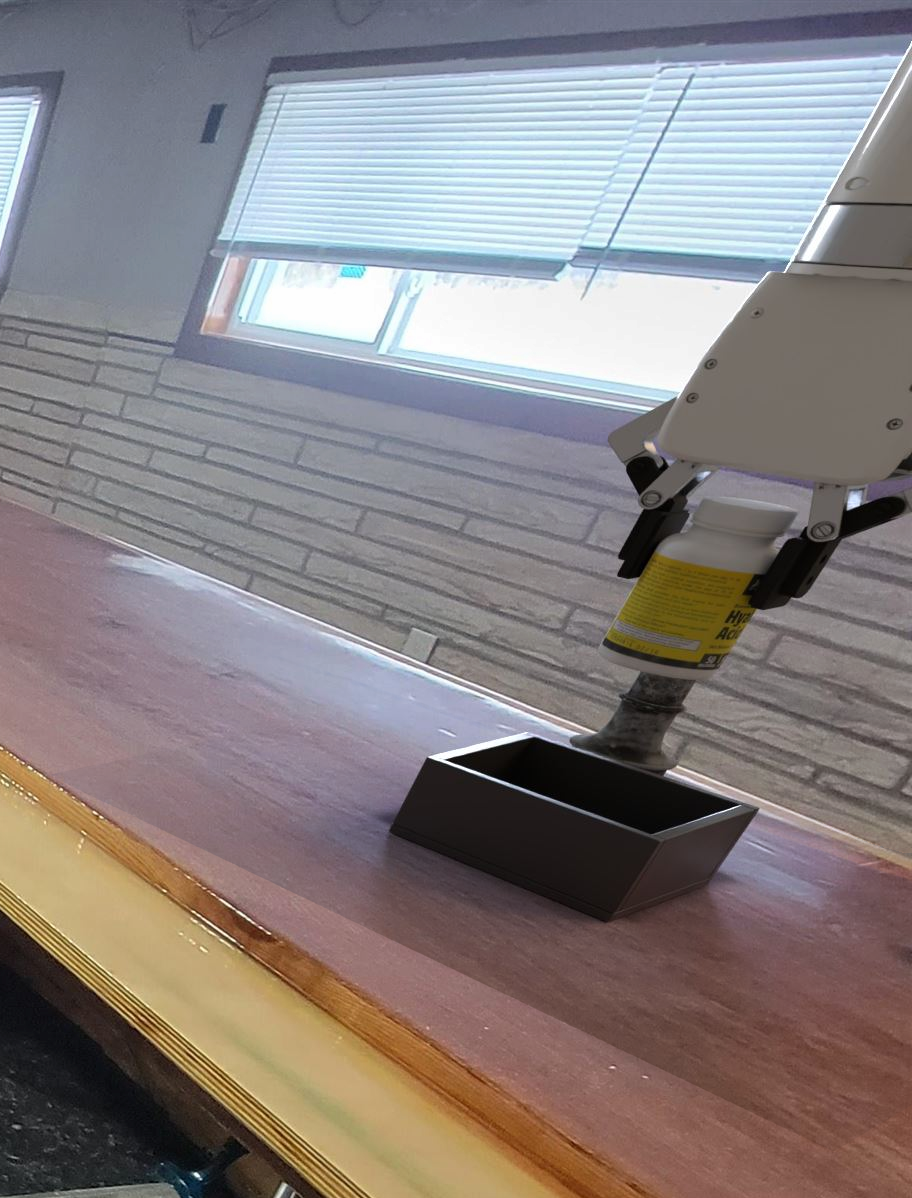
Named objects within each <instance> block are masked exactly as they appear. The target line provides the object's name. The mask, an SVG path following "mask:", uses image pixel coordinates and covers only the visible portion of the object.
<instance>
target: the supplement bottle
mask: <svg viewBox="0 0 912 1198" xmlns="http://www.w3.org/2000/svg"><path fill="white" fill-rule="evenodd" d="M798 515H799V510H798V509H796V508H793V507H790V506H786V505H782V504H778V503H773V502H768V501H762V500H755V499H749V498H739V497H733V496H732V497H730V496H719V495H716V496H715V495H713V496H709V495H708V496H704V497H703V498H702V499H701V500H700V502H699V504H698V505H697V507H696V509H695V510H694V512H693V514H692V516H691V518H690V519H689V522H690V523H692V525H691V527H689V528H690V529H688V530H687V531H683V532H680V533H676V534H673V535H670V536H668V537H666V538H665V539H663V540H662V541H661V542H660V543H659V545H658V546H657V548H656V549H655V551H654V553H653V555H652V556H651V558H650V560H649V562H648V563H647V565H646V567H645V569H644V570H643V572H642V574H641V575H640V577H639V578H637V581H636V582H635V584H634V586H633V587H632V589H631V591H630V593H629V594H628V596H627V598H626V599H625V601H624V603H623V605H622V606H621V608H620V609H619V611H618V613H617V615H616V617H615V618H614V620H613V622H612V624H611V625H610V626H609V628H608V630H607V632H606V634H605V635H604V637H603V639H602V640H601V642H600V645H599V646H598V649H597V651H598V654H599V656H600V657H601V658H603V659H604V660H606V661H608V662H609V663H612V664H613V665H617V666H618V667H619V666H620V667H622V668H626V669H629V670H634V671H638V672H640V671H641V672H646V673H650V674H655V675H660V676H665V677H671V678H678V679H687V680H696V681H700V680H706V679H709V678H711V677H713V676H714V675H715V674H716V673H717V672H718V671H719V669H720V668H721V666H722V665H723V664H724V661H725V660H726V658H727V657H728V656H729V654H730V652H731V651H732V649H733V647H734V646H735V644H736V642H737V641H738V640H739V638H740V637H741V635H742V633H743V632H744V631H745V629H746V628H747V626H748V624H749V622H750V621H751V619H752V618H753V616H754V615H755V613H756V612H757V610H758V609H755V608H751V605H749V604H748V602H749V600H750V598H751V597H752V595H753V593H754V592H755V590H756V588H757V587H758V585H759V584H760V582H761V580H762V579H763V577H764V575H765V574H766V572H767V571H768V569H769V567H770V566H771V564H772V563H773V561H774V559H775V558H776V556H777V554H778V553H779V551H780V550H781V549H778V548H776V547H775V546H774V543H775V541H776V540H777V538H783V537H785V535H786V533H787V532H788V531H789V530H790V529H791V526H792V525H793V523H794V521H795V520H796V518H797V516H798Z"/></svg>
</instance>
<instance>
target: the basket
mask: <svg viewBox="0 0 912 1198" xmlns="http://www.w3.org/2000/svg"><path fill="white" fill-rule="evenodd" d="M759 811H760V807H759V806H756V805H753V804H749V803H747V802H744V801H741V800H737V799H735V798H731V797H728V796H725V795H722V794H719V793H716V792H713V791H710V790H707V789H704V788H701V787H698V786H695V785H692V784H688V783H685V782H683V781H679V780H676V779H673V778H670V777H667V776H665V775H664V776H661V775H658V774H655V773H652V772H649V771H646V770H643V769H640V768H637V767H634V766H631V765H628V764H625V763H621V762H618V761H615V760H612V759H609V758H606V757H603V756H600V755H597V754H594V753H591V752H588V751H585V750H582V749H579V748H576V747H573V746H572V745H571V744H570V745H569V744H566V743H564V742H561V741H557V740H554V739H551V738H548V737H545V736H542V735H539V734H536V733H532V732H529V731H528V732H523V733H519V734H514V735H511V736H507V737H502V738H499V739H494V740H490V741H486V742H482V743H478V744H474V745H471V746H467V747H461V748H458V749H454V750H450V751H446V752H441V753H438V754H434V755H431V756H426V758H425V760H424V761H423V764H422V766H421V767H420V769H419V772H418V773H417V775H416V777H415V779H414V781H413V783H412V785H411V787H410V788H409V790H408V792H407V794H406V796H405V798H404V800H403V803H402V804H401V806H400V807H399V810H398V812H397V814H396V815H395V818H394V819H393V821H392V823H391V825H390V827H389V829H388V833H391V834H393V835H396V836H398V837H401V838H403V839H405V840H408V841H410V842H413V843H414V844H417V845H420V846H422V847H425V848H428V849H429V850H432V851H434V852H437V853H439V854H442V855H443V856H447V857H449V858H452V859H454V860H456V861H459V862H460V863H464V864H465V865H468V866H471V867H473V868H475V869H478V870H480V871H482V872H485V873H488V874H490V875H492V876H495V877H497V878H500V879H502V880H505V881H506V882H508V883H512V884H514V885H515V886H516V885H517V886H519V887H522V888H523V889H526V890H529V891H530V892H533V893H535V894H538V895H541V896H543V897H545V898H548V899H550V900H551V901H555V902H557V903H559V904H562V905H564V906H567V907H569V908H572V909H574V910H577V911H579V912H582V913H584V914H586V915H588V916H591V917H594V918H596V919H598V920H601V921H604V922H605V923H609V922H613V921H615V920H618V919H621V918H623V917H626V916H628V915H632V914H633V913H636V912H640V911H642V910H645V909H647V908H650V907H653V906H655V905H657V904H661V903H663V902H666V901H669V900H672V899H674V898H676V897H679V896H681V895H685V894H688V893H689V892H692V891H695V890H698V889H700V888H703V887H706V886H708V885H709V884H710V883H711V881H712V880H713V877H714V876H715V875H716V874H717V872H718V871H719V869H720V867H721V866H722V865H723V864H724V862H725V860H726V859H727V857H728V856H729V854H730V853H731V851H732V850H733V849H734V847H735V846H736V844H737V843H738V841H739V839H740V838H741V837H742V836H743V834H744V832H745V831H746V830H747V828H748V827H749V826H750V824H751V822H752V821H753V820H754V818H755V817H756V815H757V813H759Z"/></svg>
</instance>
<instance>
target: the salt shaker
mask: <svg viewBox="0 0 912 1198" xmlns="http://www.w3.org/2000/svg"><path fill="white" fill-rule="evenodd" d="M696 682H697V680H687V679H678V678H671V677H665V676H660V675H655V674H650V673H646V672H641V671H639V673H638V675H637V676H636V677H635V680H634V681H633V683H632V685H631V687H630V688H629V690H626V691H621V692H619V693H618V697H619V699H620V702H619V704H618V706H617V708H616V710H615V711H614V713H613V714H612V716H611V718H610V719H609V720H608V721H607V723H606V724H605V725H604V726H603V727H602V728H601V729H599V731H597V732H594V733H592V734H591V733H580V734H575V735H573V736H571V737H570V738H569V744H570V746H573V747H576V748H579V749H582V750H585V751H588V752H591V753H594V754H597V755H600V756H603V757H606V758H609V759H612V760H615V761H618V762H621V763H625V764H628V765H631V766H634V767H637V768H640V769H643V770H646V771H649V772H652V773H655V774H658V775H661V776H664V777H665V774H666V773H667V771H669V770H673V769H675V768H677V767H678V761H677V760H676V759H675V758H674V757H673V756H671V755H670V754H668V753H667V752H665V751H664V750H663V748H662V747H663V743H664V739H665V735H666V734H667V732H668V730H669V728H670V726H671V725H672V724H673V722H674V720H675V719H676V717H677V715H678V714H680V713H685V712H686V711H687V710H688V709H687V706H686V705H684V704H683V703H684V701H685V700H686V698H687V696H688V695H689V693H690V691H691V690H692V688H693V687H694V685H695V683H696Z"/></svg>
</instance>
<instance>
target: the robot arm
mask: <svg viewBox="0 0 912 1198" xmlns="http://www.w3.org/2000/svg"><path fill="white" fill-rule="evenodd" d="M822 203H823V204H821V205H820V207H819V209H818V210H817V213H816V214H815V215H814V218H813V220H812V222H811V223H810V225H809V226H808V228H807V230H806V232H805V233H804V236H803V238H802V240H801V241H800V243H799V245H798V246H797V248H796V250H795V252H794V254H793V255H792V257H791V259H790V262H789V263H788V264H787V266H786V268H785V270H784V271H777V270H776V271H775V270H774V271H772V270H771V271H768V272H767V273H766V274H765V275H764V277H763V278H762V279H761V280H760V282H758V284H757V285H756V286H755V287H754V288H753V290H752V291H751V292H750V293H749V295H748V296H746V298H745V300H744V301H743V302H742V303H741V305H740V306H739V307H738V309H737V310H736V311H735V313H733V315H732V316H731V318H730V319H729V320H728V321H727V323H726V324H725V326H724V327H723V328H722V329H721V331H720V332H719V333H718V335H717V337H716V338H715V339H714V340H713V342H712V343H711V345H710V346H709V348H708V349H707V350H706V352H705V354H704V355H703V357H702V358H701V360H700V361H699V363H698V364H697V366H696V368H695V369H694V370H693V372H692V374H691V375H690V376H689V378H688V380H687V381H686V383H685V385H684V386H683V388H682V389H681V391H680V393H679V394H678V395H676V396H675V397H673V398H671V399H669V400H667V401H665V402H664V403H661V404H660V405H658V406H656V407H655V408H653V409H650V410H649V411H647V412H645V413H644V414H642V415H640V416H638V417H636V418H635V419H632V420H630V421H628V422H627V423H626V424H623V425H622V426H620V427H618V428H616V429H614V430H613V431H611V432H610V433H609V435H608V436H607V442H608V445H609V446H610V448H611V449H612V450H613V452H614V453H615V455H616V456H617V458H618V460H619V461H620V462H621V463H622V464H623V465H624V466H625V472H626V475H627V476H628V478H629V480H630V482H631V483H632V485H633V487H634V489H635V491H636V493H637V495H638V499H637V503H638V505H639V507H640V508H642V511H641V513H640V514H639V515H638V518H637V519H636V522H635V523H634V525H633V526H632V529H631V531H630V532H629V534H628V536H627V538H626V540H625V541H624V543H623V545H622V547H621V548H620V551H619V552H618V555H617V559H618V560H620V561H623V563H622V564H621V566H620V568H619V569H618V571H617V574H616V577H617V578H620V579H625V580H632V579H639V577H640V575H641V574H642V572H643V570H644V569H645V567H646V565H647V563H648V562H649V560H650V558H651V556H652V555H653V553H654V551H655V549H656V548H657V546H658V545H659V543H660V542H661V541H662V540H663V539H665V538H666V537H668V536H670V535H673V534H676V533H682V530H683V528H684V527H685V524H686V523H687V521H688V520H689V518H690V515H691V513H690V509H688V508H685V507H686V506H687V504H688V503H689V500H688V499H689V498H690V497H691V496H692V495H693V494H694V493H696V492H697V491H698V490H699V489H700V488H701V487H702V486H703V485H704V484H705V483H706V482H707V481H708V480H709V479H711V478H712V477H713V476H714V475H715V474H716V473H717V472H718V471H719V470H720V469H721V468H725V469H731V470H737V471H743V472H749V473H750V472H751V473H756V474H762V475H763V474H764V475H770V476H774V477H775V476H776V477H781V478H787V479H794V480H800V481H807V482H811V483H812V482H813V483H814V484H813V491H812V497H811V503H810V509H809V514H808V515H809V516H808V522H807V525H806V526H804V527H803V529H802V531H801V532H800V534H799V535H798V536H795V537H792V538H788V539H787V540H786V541H785V542H784V543H783V545H782V547H781V548H780V549H779V550H780V551H779V553H778V554H777V556H776V558H775V559H774V561H773V563H772V564H771V566H770V567H769V569H768V571H767V572H766V574H765V575H764V577H763V579H762V580H761V582H760V584H759V585H758V587H757V588H756V590H755V592H754V593H753V595H752V597H751V598H750V600H749V602H748V604H749V605H751V608H755V609H757V610H760V611H768V610H772V609H778V608H781V607H785V606H787V604H788V603H789V602H790V601H791V599H792V598H793V599H800V598H803V597H804V596H806V594H807V593H809V591H810V590H811V588H812V587H813V585H814V584H815V582H816V581H817V579H818V578H819V576H820V574H821V573H822V571H823V570H824V568H825V567H826V565H827V563H828V561H829V560H830V559H831V557H832V555H833V554H834V552H835V551H836V549H837V548H838V546H839V545H840V543H841V542H842V540H844V539H847V538H848V539H849V538H851V537H854V536H855V535H858V534H860V533H863V532H866V531H868V530H870V529H873V528H877V527H879V526H881V525H884V524H888V523H889V522H892V521H895V520H898V519H900V518H903V517H906V516H908V515H910V514H912V486H911V487H909V488H906V489H904V490H901V491H898V492H895V493H892V494H889V495H886V496H882V497H878V498H877V499H876V498H875V499H873V500H871V501H868V502H867V496H868V492H869V491H868V490H869V485H870V484H874V483H888V482H890V483H891V482H897V481H902V480H906V479H909V478H912V42H911V43H910V45H909V47H908V48H907V50H906V53H905V54H904V56H903V58H902V60H901V62H900V63H899V65H898V67H897V69H896V70H895V72H894V74H893V75H892V77H891V79H890V81H889V83H888V85H887V86H886V88H885V90H884V92H883V94H882V95H881V97H880V99H879V101H878V102H877V104H876V106H875V108H874V109H873V112H872V113H871V115H870V117H869V118H868V120H867V122H866V123H865V126H864V128H863V130H862V131H861V133H860V134H859V137H858V138H857V140H856V141H855V144H854V146H853V147H852V149H851V151H850V153H849V155H848V157H847V158H846V160H845V162H844V163H843V166H842V167H841V169H840V170H839V172H838V174H837V176H836V178H835V180H834V181H833V183H832V185H831V187H830V189H829V190H828V192H827V194H826V196H825V198H824V200H823V201H822ZM656 437H657V438H656ZM654 439H656V444H657V447H658V448H659V449H660V450H661V451H662V452H663V453H665V454H667V455H668V456H670V457H672V458H675V459H676V460H675V461H673V462H672V463H671V464H670V465H669V464H668V462H667V460H666V458H665V457H663V456H661V455H660V454H659V453H658V451H657V448H656V446H655V444H654Z"/></svg>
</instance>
